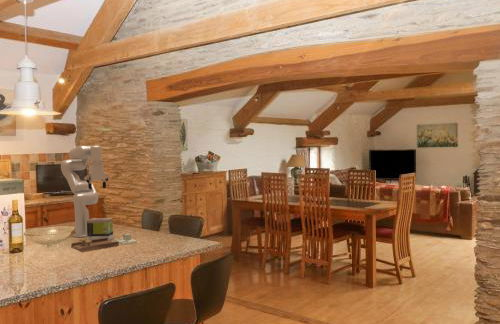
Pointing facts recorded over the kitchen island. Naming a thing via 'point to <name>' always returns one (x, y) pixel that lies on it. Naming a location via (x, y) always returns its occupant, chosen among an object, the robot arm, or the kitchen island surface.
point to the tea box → (99, 228)
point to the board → (93, 244)
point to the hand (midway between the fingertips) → (97, 188)
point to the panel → (125, 240)
